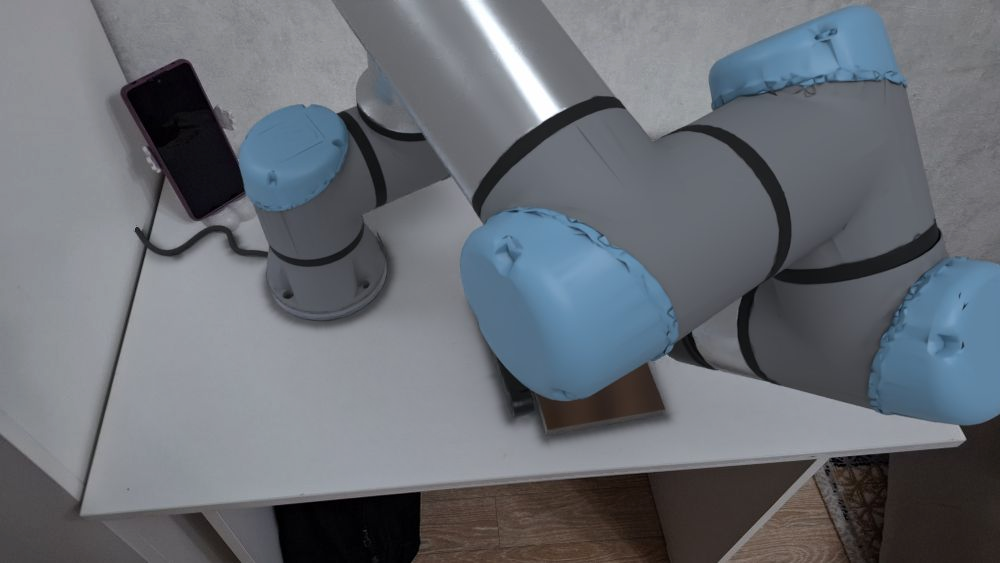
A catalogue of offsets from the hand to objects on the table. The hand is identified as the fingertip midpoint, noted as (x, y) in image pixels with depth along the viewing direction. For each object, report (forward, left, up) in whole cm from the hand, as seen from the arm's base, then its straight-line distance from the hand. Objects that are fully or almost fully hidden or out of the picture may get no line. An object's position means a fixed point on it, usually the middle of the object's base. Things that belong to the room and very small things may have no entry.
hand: (553, 292), depth 61 cm
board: (+6, -3, -16) cm, 18 cm away
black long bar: (-4, +3, -17) cm, 17 cm away
